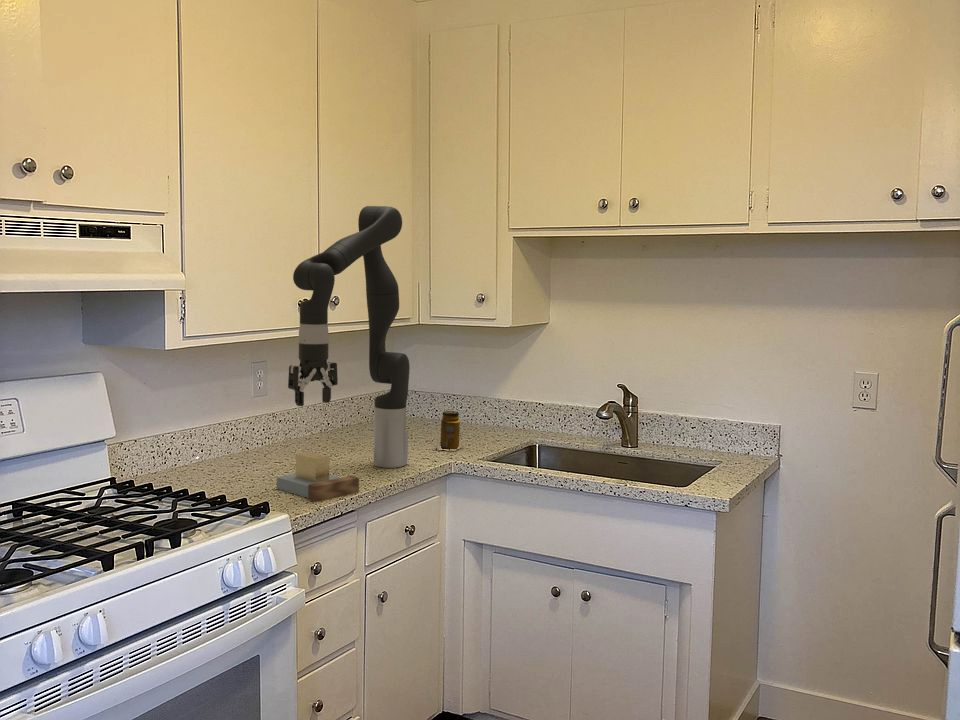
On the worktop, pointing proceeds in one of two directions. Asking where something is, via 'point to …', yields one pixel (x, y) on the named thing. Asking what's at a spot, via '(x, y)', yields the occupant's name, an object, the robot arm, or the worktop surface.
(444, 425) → the condiment
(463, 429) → the worktop surface
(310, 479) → the block
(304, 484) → the flat grey square tile
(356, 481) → the block
